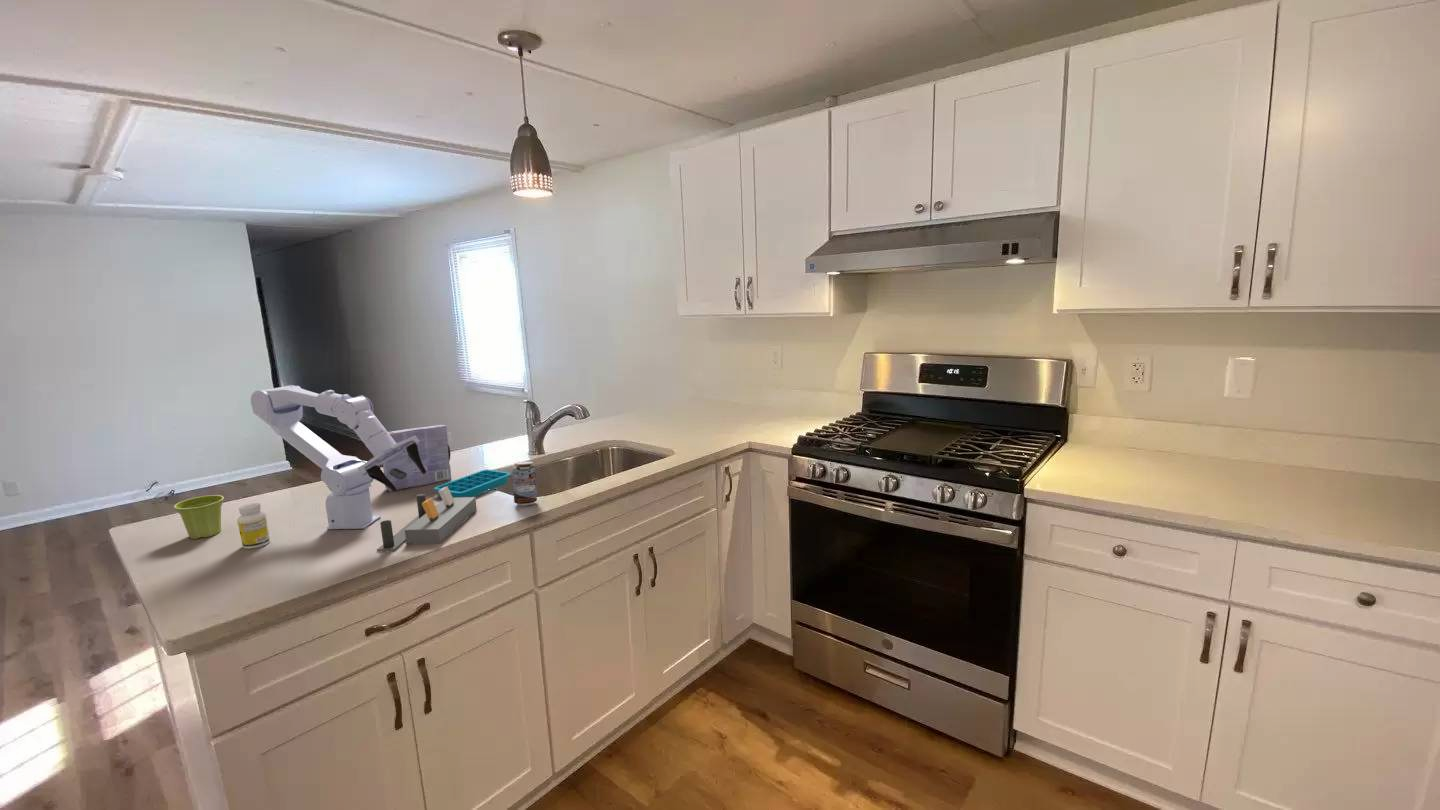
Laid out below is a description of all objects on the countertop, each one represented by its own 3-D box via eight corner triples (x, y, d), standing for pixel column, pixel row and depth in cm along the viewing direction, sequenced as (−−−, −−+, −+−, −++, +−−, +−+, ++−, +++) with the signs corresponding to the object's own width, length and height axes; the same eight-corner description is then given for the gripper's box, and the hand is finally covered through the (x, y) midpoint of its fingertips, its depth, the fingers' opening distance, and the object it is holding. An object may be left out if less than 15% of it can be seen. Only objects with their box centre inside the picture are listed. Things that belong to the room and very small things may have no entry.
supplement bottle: (247, 542, 145) (240, 503, 143) (274, 538, 147) (267, 500, 145) (238, 551, 140) (231, 511, 138) (266, 547, 142) (259, 507, 140)
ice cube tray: (432, 498, 174) (431, 488, 173) (486, 478, 192) (485, 469, 191) (461, 503, 169) (460, 493, 169) (513, 482, 187) (513, 473, 186)
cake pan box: (451, 475, 194) (445, 422, 191) (455, 479, 190) (449, 424, 187) (384, 488, 182) (377, 432, 179) (388, 493, 178) (380, 435, 175)
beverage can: (513, 509, 163) (510, 467, 160) (515, 500, 170) (511, 459, 167) (538, 507, 164) (534, 465, 162) (538, 498, 171) (535, 457, 169)
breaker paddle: (429, 521, 146) (421, 503, 145) (435, 516, 149) (427, 499, 148) (434, 520, 146) (425, 502, 145) (440, 515, 149) (431, 497, 148)
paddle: (445, 508, 155) (438, 491, 154) (451, 504, 158) (443, 487, 157) (450, 507, 155) (442, 489, 154) (455, 502, 158) (447, 485, 157)
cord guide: (377, 552, 138) (373, 524, 136) (418, 518, 158) (415, 493, 157) (394, 552, 138) (391, 524, 137) (434, 517, 159) (431, 493, 157)
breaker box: (406, 543, 142) (404, 529, 141) (447, 509, 163) (445, 497, 163) (440, 543, 142) (438, 529, 141) (476, 509, 163) (475, 497, 163)
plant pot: (239, 528, 153) (233, 496, 151) (198, 543, 144) (192, 509, 143) (212, 525, 156) (205, 493, 154) (171, 540, 147) (163, 506, 145)
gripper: (345, 449, 140) (380, 494, 140) (404, 417, 148) (437, 460, 148) (348, 458, 146) (382, 501, 146) (404, 426, 154) (437, 468, 154)
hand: (410, 481), depth 147 cm, fingers open, 7 cm apart
